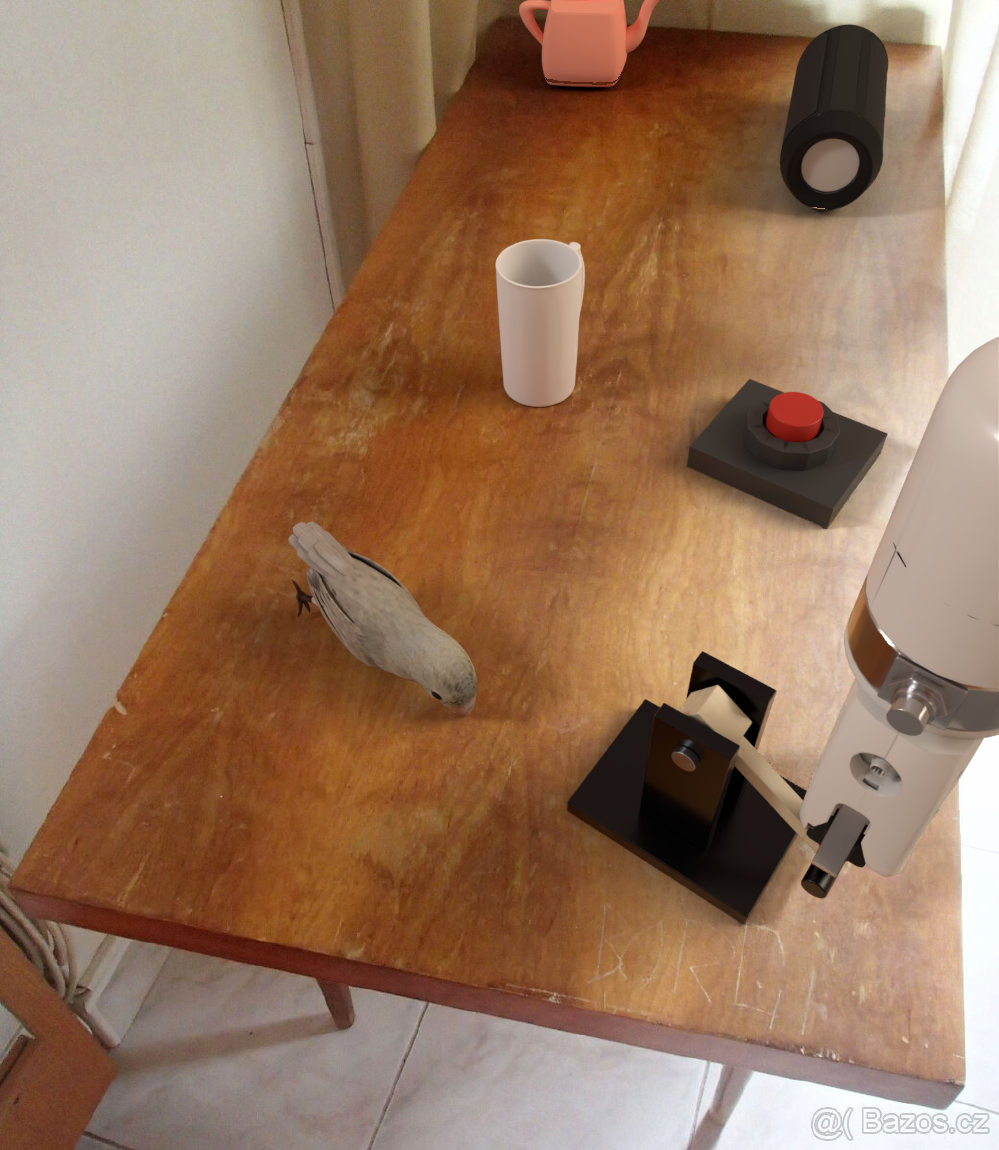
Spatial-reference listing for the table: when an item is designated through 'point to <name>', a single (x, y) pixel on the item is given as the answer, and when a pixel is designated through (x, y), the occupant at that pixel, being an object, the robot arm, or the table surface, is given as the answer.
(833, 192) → the portable speaker
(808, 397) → the red button
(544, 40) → the teapot
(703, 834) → the lever stand
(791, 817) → the lever handle
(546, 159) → the table surface
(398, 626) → the decorative bird
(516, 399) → the mug
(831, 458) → the control block
